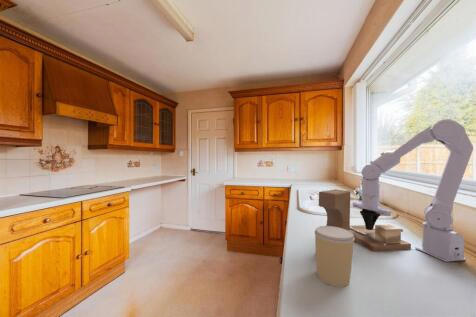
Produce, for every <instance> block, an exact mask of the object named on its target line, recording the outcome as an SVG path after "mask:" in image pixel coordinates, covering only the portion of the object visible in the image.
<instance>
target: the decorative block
mask: <svg viewBox="0 0 476 317" xmlns="http://www.w3.org/2000/svg"><path fill="white" fill-rule="evenodd" d="M318 207H320V208H323V209H324V210H325V212H326V219H327V220H326V225H325V226H333V227H339V228H343V229H346V230H348V231H350V226H351V225H350V224H351V223H350V222H351V191H350V190H345V189H336V188H335V189H329V190H323V191H322V190H321V191H319V192H318Z"/></svg>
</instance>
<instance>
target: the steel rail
mask: <svg viewBox="0 0 476 317" xmlns="http://www.w3.org/2000/svg"><path fill="white" fill-rule="evenodd" d="M350 229H351V230H353V231H355V232H357V233H359V234H361V235H363V236H365V237H368V238H370V239H372V240H374V241H376V242H378V243H380V244H382V245H386V243H384V242H382V241H380V240H378V239H376V238H374V237H371V236H369V235H367V234H365V233H363V232H361V231H359V230H356V229H354V228H352V227H350Z"/></svg>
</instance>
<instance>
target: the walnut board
mask: <svg viewBox="0 0 476 317" xmlns="http://www.w3.org/2000/svg"><path fill="white" fill-rule="evenodd" d="M350 227H352V228H354V229H356V230H359V231H361V232H363V233H365V234H367V235H369V236H371V237H374V238H375V227H374V228H373V230H367V229H366V226H365V224H362V225H361V224H359V225H356V224H355V225H350ZM350 232H351V233H352V234H353V236H354V238H355V240H354V242H355V243H357V244H359V245H360V246H362V247H365V248H367V249H368V250H370V251H372V252H386V251H399V250H401V251H402V250H411V249H412V243H410V242H408V241H404V240H403V239H401V243H391V244H386V245H382V244H380V243H378V242H376V241H374V240H372V239H370V238H368V237H365V236H363V235H361V234H359V233H357V232H355V231H353V230H351V229H350Z"/></svg>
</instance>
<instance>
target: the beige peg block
mask: <svg viewBox="0 0 476 317" xmlns="http://www.w3.org/2000/svg"><path fill="white" fill-rule="evenodd" d="M374 229H375V238H376V239H378V240H380V241H382V242H384V243H386V244H391V243H401V240H402V239H401V237H402V232H404V229H403V228H401V227H397V226H395V225H393V224H375V225H374Z"/></svg>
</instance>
